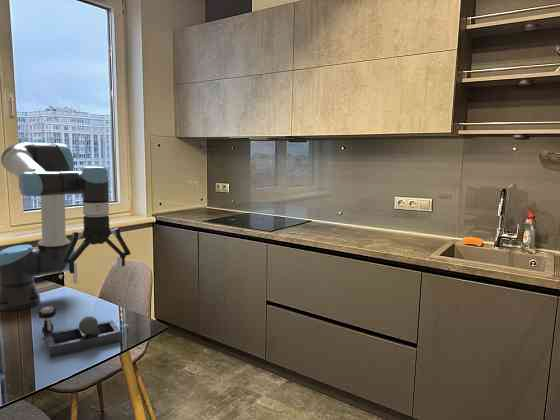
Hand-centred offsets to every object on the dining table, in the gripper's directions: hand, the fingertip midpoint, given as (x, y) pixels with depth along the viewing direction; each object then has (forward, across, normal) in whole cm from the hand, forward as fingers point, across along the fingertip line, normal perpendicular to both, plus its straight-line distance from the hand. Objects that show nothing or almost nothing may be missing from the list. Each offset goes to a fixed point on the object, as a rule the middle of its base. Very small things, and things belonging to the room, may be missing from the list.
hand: (98, 279), depth 132 cm
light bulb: (+20, 0, 0) cm, 20 cm away
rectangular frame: (+21, -5, 0) cm, 21 cm away
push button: (+21, -14, +11) cm, 28 cm away
